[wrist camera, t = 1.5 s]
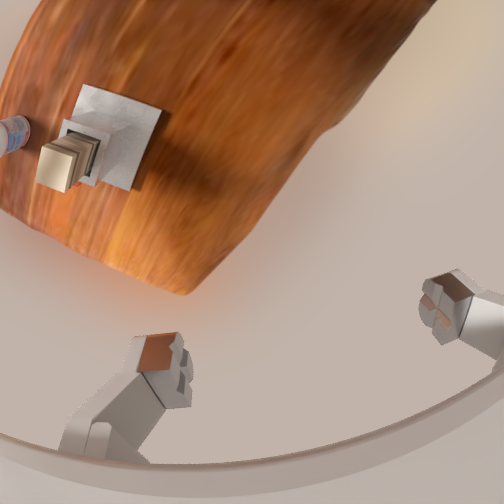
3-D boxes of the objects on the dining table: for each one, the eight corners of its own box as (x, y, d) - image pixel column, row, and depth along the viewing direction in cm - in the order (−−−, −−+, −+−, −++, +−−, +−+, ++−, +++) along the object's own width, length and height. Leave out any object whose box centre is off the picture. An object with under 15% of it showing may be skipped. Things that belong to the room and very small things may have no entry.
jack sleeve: (61, 162, 39) (26, 186, 29) (87, 83, 33) (51, 85, 23) (131, 188, 44) (111, 219, 34) (163, 109, 38) (148, 117, 28)
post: (88, 146, 37) (34, 182, 23) (96, 121, 35) (41, 145, 21) (110, 154, 38) (64, 193, 24) (119, 129, 37) (73, 156, 22)
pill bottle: (18, 153, 36) (-18, 174, 26) (3, 130, 32) (-34, 146, 23) (36, 131, 35) (0, 147, 25) (21, 107, 31) (-17, 118, 22)
